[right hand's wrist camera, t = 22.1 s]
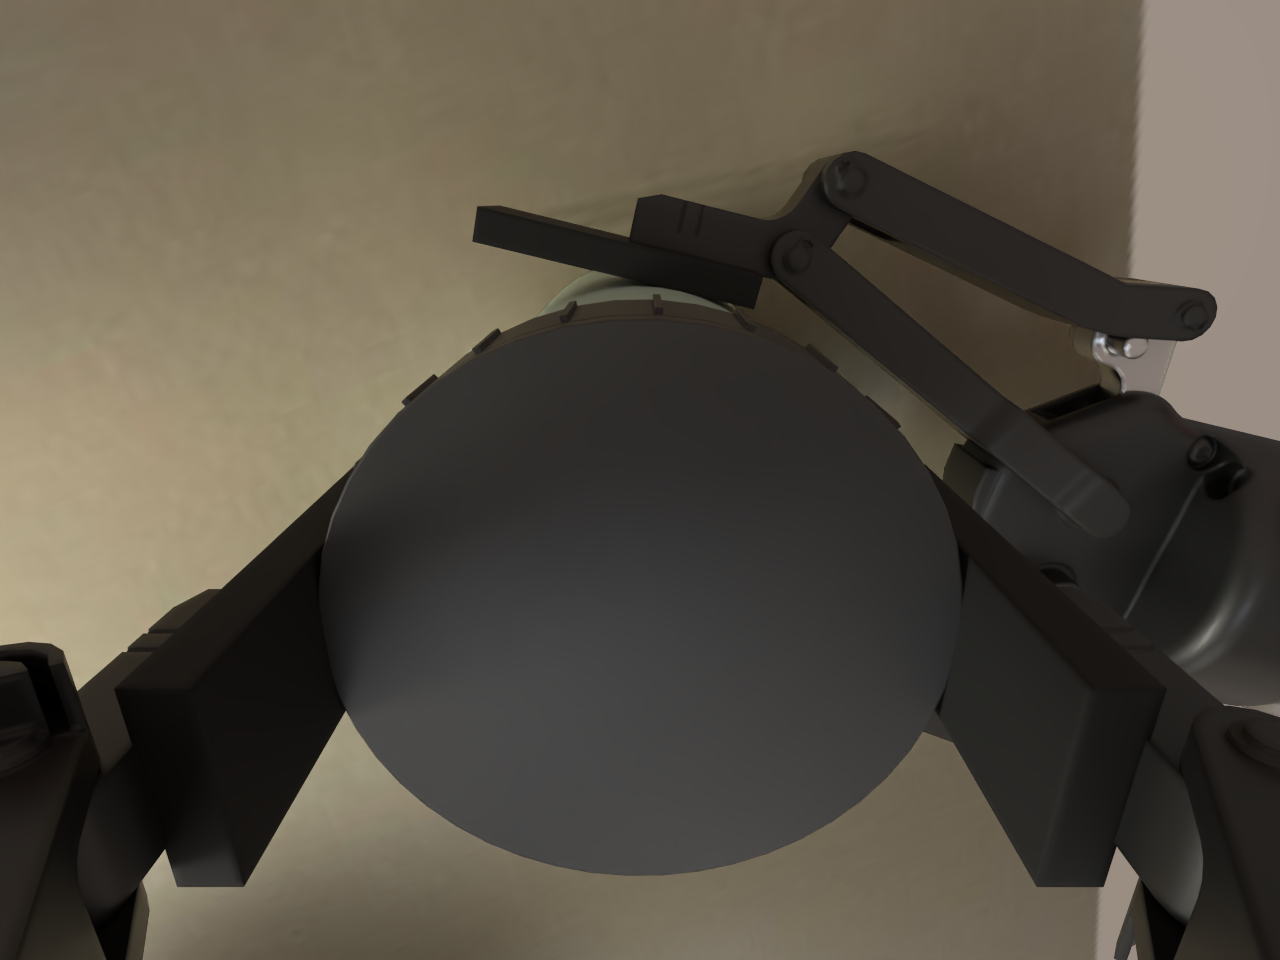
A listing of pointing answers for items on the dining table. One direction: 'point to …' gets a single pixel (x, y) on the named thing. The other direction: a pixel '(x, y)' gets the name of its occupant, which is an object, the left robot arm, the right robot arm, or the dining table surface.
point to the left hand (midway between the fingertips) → (462, 399)
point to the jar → (622, 293)
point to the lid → (640, 590)
